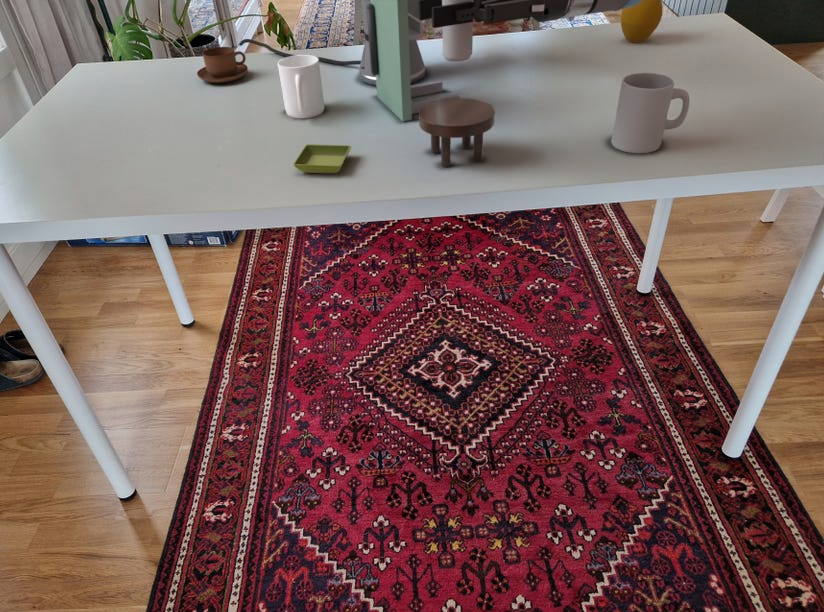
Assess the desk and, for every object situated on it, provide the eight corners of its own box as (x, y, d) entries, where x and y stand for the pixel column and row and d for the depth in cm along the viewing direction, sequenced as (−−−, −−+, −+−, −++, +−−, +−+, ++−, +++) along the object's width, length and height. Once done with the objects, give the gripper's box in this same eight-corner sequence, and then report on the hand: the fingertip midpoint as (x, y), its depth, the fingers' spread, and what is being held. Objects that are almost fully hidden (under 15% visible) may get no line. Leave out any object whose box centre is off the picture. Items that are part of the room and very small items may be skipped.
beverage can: (472, 53, 106) (474, -31, 98) (472, 62, 102) (473, -24, 94) (443, 53, 106) (442, -30, 98) (441, 62, 103) (441, -23, 95)
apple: (646, 49, 155) (656, -6, 148) (609, 43, 160) (617, -10, 153) (663, 39, 161) (674, -14, 153) (627, 33, 166) (635, -18, 158)
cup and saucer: (229, 67, 161) (223, 41, 157) (259, 75, 155) (254, 48, 151) (189, 81, 155) (182, 53, 151) (219, 90, 149) (212, 62, 144)
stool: (407, 164, 114) (405, 119, 108) (440, 137, 122) (440, 94, 117) (474, 177, 108) (475, 130, 103) (503, 148, 117) (506, 103, 111)
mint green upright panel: (436, 86, 143) (434, -27, 129) (466, 109, 132) (468, -12, 117) (370, 98, 140) (361, -17, 125) (395, 123, 128) (389, 0, 114)
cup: (325, 103, 139) (318, 53, 132) (324, 124, 130) (317, 71, 123) (287, 106, 138) (278, 56, 132) (283, 127, 129) (274, 75, 123)
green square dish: (353, 156, 117) (352, 145, 116) (342, 177, 111) (340, 165, 110) (307, 155, 119) (305, 144, 117) (294, 175, 112) (292, 164, 111)
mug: (616, 154, 112) (627, 90, 105) (606, 135, 119) (617, 73, 111) (686, 152, 111) (703, 87, 104) (673, 133, 118) (687, 70, 111)
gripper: (586, 31, 100) (449, 54, 94) (529, 7, 112) (406, 27, 107) (593, -24, 95) (449, -3, 89) (533, -42, 108) (404, -25, 102)
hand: (426, 13), depth 98 cm, fingers closed on beverage can, 5 cm apart
